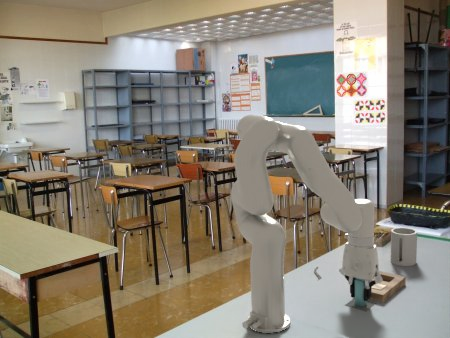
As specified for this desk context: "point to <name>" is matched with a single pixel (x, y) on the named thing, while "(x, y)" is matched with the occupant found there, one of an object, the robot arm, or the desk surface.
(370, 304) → the pad
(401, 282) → the wooden peg hole block
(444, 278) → the desk surface
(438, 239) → the desk surface
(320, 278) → the pliers
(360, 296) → the peg
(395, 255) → the cup
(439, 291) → the desk surface
